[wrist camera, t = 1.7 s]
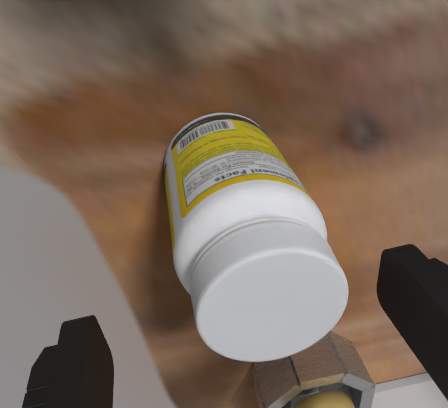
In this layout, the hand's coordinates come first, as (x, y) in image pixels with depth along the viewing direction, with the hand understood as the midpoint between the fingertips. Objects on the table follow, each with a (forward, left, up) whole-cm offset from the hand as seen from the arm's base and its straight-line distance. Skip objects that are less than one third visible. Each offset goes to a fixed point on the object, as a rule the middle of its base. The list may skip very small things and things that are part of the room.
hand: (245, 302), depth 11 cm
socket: (-5, +15, -7) cm, 18 cm away
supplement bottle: (-1, -1, -8) cm, 8 cm away
